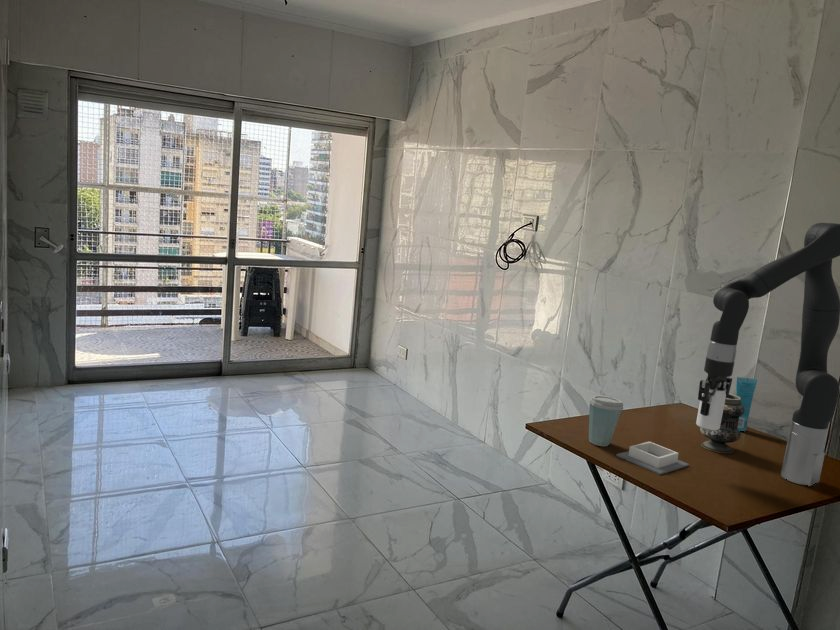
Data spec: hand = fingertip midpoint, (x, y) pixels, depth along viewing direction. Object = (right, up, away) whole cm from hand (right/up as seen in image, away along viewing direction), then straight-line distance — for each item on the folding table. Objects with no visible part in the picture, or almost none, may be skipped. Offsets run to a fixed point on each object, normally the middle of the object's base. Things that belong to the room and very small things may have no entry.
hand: (710, 413), depth 198 cm
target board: (-14, -15, +7) cm, 22 cm away
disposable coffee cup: (-27, -12, +18) cm, 35 cm away
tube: (+30, -13, +47) cm, 57 cm away
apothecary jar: (+13, -15, +25) cm, 32 cm away
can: (-1, -4, +1) cm, 4 cm away
